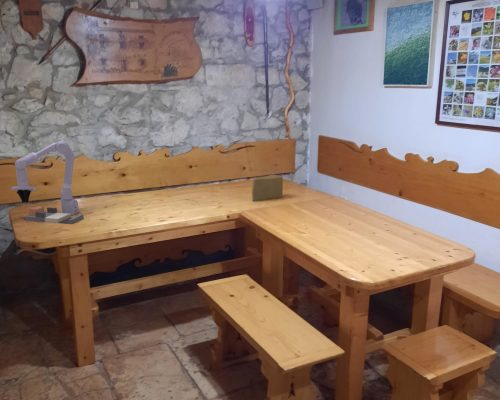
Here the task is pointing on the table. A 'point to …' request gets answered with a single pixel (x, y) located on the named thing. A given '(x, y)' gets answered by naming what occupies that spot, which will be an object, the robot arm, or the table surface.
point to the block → (35, 210)
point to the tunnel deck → (54, 217)
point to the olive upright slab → (267, 188)
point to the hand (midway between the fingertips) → (25, 202)
